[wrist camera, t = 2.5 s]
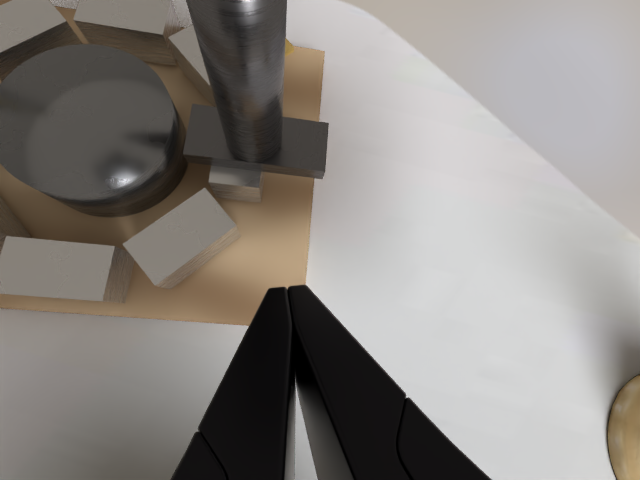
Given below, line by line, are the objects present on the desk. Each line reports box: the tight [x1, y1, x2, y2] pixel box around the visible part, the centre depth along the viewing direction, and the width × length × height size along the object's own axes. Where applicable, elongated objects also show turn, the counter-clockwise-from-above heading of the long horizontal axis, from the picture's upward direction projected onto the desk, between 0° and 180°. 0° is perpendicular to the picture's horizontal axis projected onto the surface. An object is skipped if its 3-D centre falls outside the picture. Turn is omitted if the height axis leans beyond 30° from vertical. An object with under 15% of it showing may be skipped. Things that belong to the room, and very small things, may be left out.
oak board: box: [0, 0, 325, 326], centre depth 17 cm, size 16×19×1 cm
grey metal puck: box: [0, 44, 188, 218], centre depth 15 cm, size 7×7×3 cm
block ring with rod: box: [0, 0, 329, 303], centre depth 11 cm, size 15×18×11 cm
